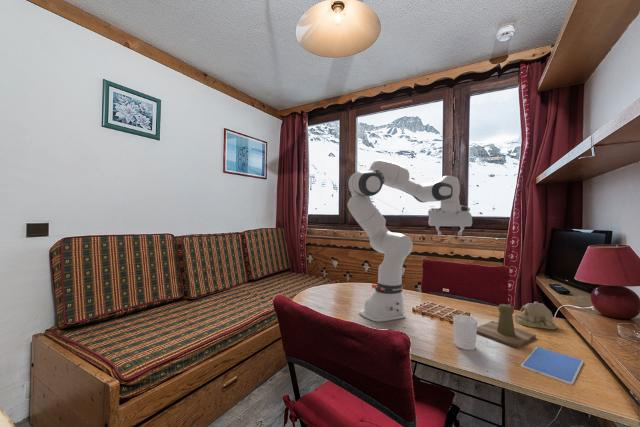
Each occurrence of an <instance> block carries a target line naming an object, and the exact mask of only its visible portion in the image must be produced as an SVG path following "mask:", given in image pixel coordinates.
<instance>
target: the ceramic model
mask: <svg viewBox="0 0 640 427" xmlns="http://www.w3.org/2000/svg"><path fill="white" fill-rule="evenodd" d="M519 312H520V313H521V314H520V315H519V314H515V315H514V319H515V322H516V323H517V324H519V325H522V326H525V327H531V328H539V329H547V330H555V329H557V328H558V326H557V324H555V323H554V322H553V319H552V318H554V315H553V313H552V311H551V310H550V309H549V308H548V307H547V306H546V304H544V303H543V302H542V303H539V302H538V301H537V300H536V301H534V302H533V303H532V302H530V303H529V302H527V303H526V304H524V305H522V307H521V308H520V311H519Z"/></svg>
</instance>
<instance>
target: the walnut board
mask: <svg viewBox="0 0 640 427" xmlns="http://www.w3.org/2000/svg"><path fill="white" fill-rule="evenodd" d="M497 327H498V321H492V320H491V321H488V322H486V323H484V324H482V325H479V326H477V335H480V336H482V337H484V338H488V339H491V340H492V341H496V342H497V343H498V342H499V343H501V344H504V345H506V346H509V347H512V348H515V349H518V348H520V347H522V346H523V345H525V344H527V343H529V342H531V341H533V340H534V339H536V338H537V335H536V334H535V333H531V332H528V331H525V330H522V329H519V328H516V327H514V330H515V335H514V336H506V335H502V334H500V333H498V332H497Z"/></svg>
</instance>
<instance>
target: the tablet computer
mask: <svg viewBox="0 0 640 427" xmlns="http://www.w3.org/2000/svg"><path fill="white" fill-rule="evenodd" d="M583 365H584V361H583V359H580V358H576V357H574V356H570V355H567V354H564V353H560V352H557V351H554V350H551V349H547V348H544V347H541V346H540V347H539V346H536V347H535V348H534V349H533V351H531V353H530V354H529V355H528V356H527V358H525V360H524V361H523V362H522V363H521V365H520V367H521V368H523V369H526V370H528V371H531V372H534V373H536V374H539V375H542V376H545V377H547V378H551V379H553V380H555V379H556V380H555V381H558V380H559V382H561V381H562V382H561V383H563V382H564V384H566V385H569V386H573V385H574V384H575V382H576V379H577V377H578V374H579V373H580V372H581V371H580V370H581V368H582V366H583Z"/></svg>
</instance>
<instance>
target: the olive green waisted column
mask: <svg viewBox="0 0 640 427" xmlns="http://www.w3.org/2000/svg"><path fill="white" fill-rule="evenodd" d="M498 312H499V315H498V321H497V323H498V327H497V332H498V333H500V334H502V335H506V336H514V335H515V330H514V328H515V325H514V324H515V323H514V317H513V314H514V313H515V308H514V307H513V306H512V305H510V304H505V303H500V304H498Z"/></svg>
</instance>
